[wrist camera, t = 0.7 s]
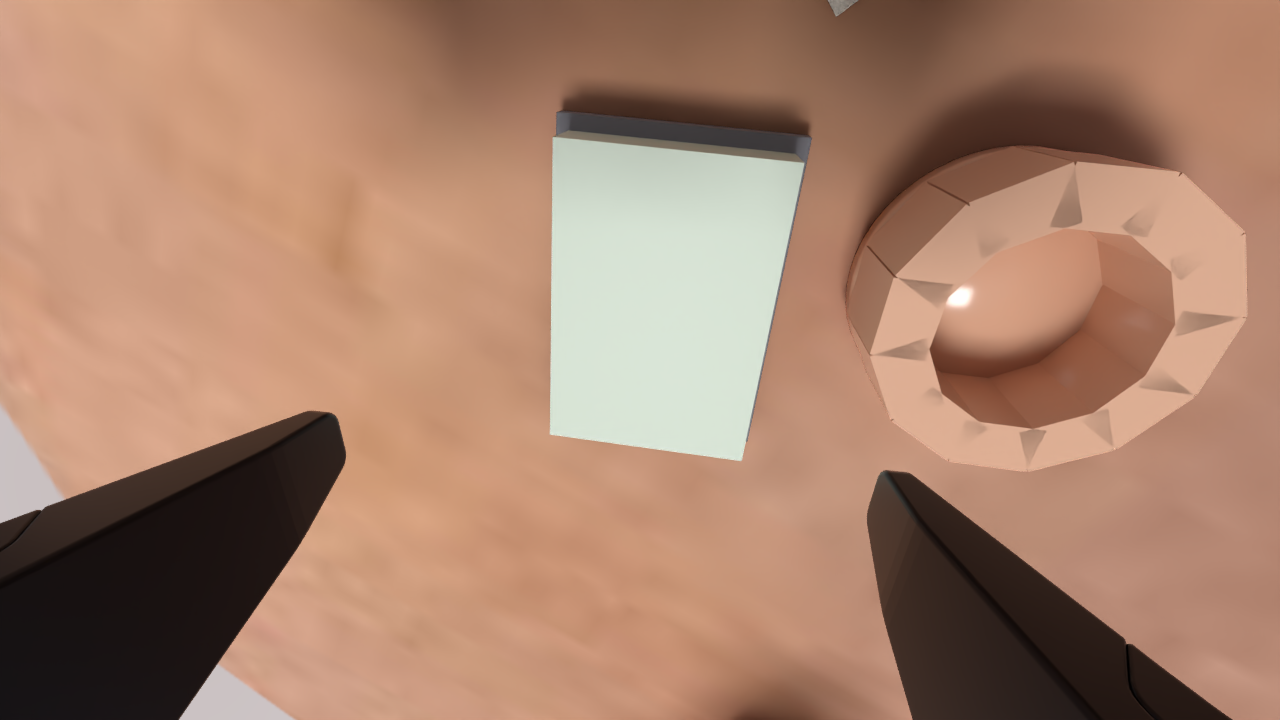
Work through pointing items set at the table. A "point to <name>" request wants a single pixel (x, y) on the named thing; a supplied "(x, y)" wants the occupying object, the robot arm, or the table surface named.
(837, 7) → the condiment
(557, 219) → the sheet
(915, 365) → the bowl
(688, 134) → the mat
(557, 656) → the table surface
